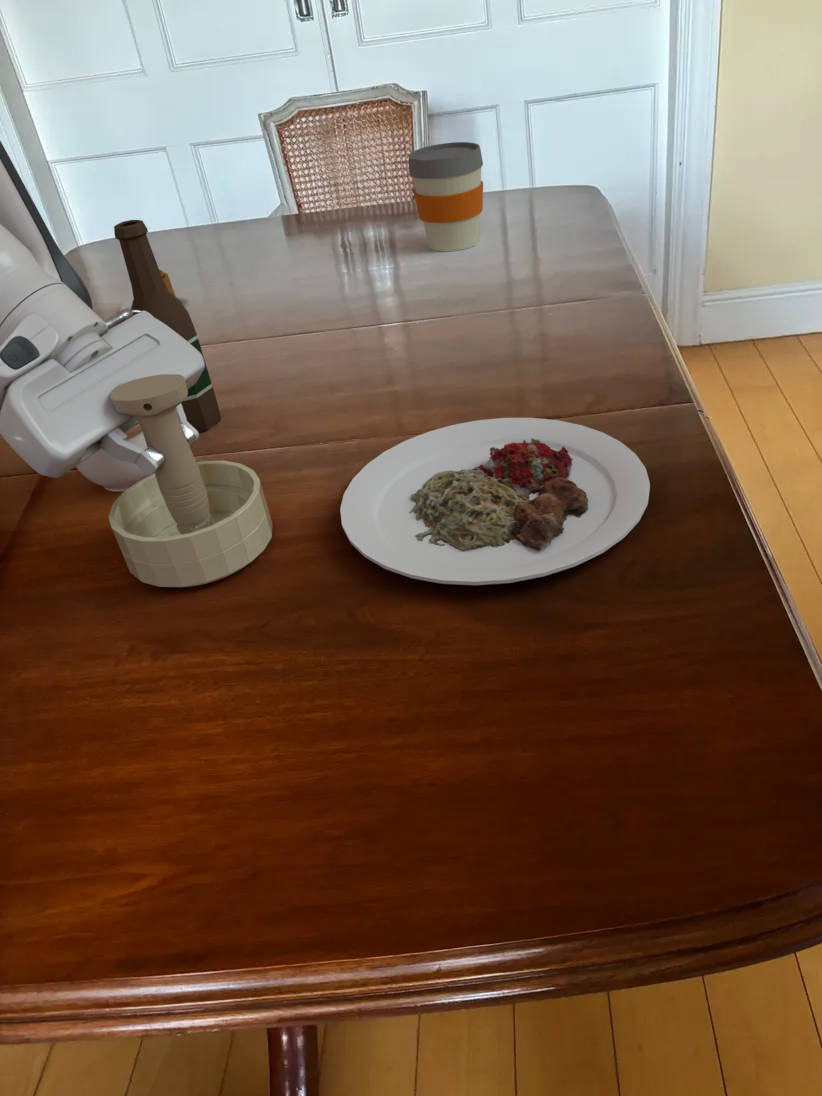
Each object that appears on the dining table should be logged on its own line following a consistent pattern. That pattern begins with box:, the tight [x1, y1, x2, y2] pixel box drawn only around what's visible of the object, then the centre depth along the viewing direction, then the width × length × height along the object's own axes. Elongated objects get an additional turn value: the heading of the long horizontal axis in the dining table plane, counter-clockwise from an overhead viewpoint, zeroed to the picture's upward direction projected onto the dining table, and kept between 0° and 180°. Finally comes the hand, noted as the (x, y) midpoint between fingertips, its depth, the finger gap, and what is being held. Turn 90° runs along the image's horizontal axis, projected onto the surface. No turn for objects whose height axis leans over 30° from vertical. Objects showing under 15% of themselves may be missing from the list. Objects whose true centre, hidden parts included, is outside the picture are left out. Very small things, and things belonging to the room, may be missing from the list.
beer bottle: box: [113, 219, 222, 434], centre depth 105 cm, size 8×8×24 cm
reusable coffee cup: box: [408, 141, 484, 252], centre depth 154 cm, size 13×13×15 cm
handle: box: [110, 374, 212, 535], centre depth 82 cm, size 5×6×15 cm
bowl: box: [107, 460, 274, 588], centre depth 86 cm, size 14×14×6 cm
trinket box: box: [74, 423, 155, 493], centre depth 99 cm, size 11×11×9 cm
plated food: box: [339, 417, 651, 586], centre depth 87 cm, size 30×30×3 cm
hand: (175, 455), depth 82 cm, fingers closed on handle, 3 cm apart
